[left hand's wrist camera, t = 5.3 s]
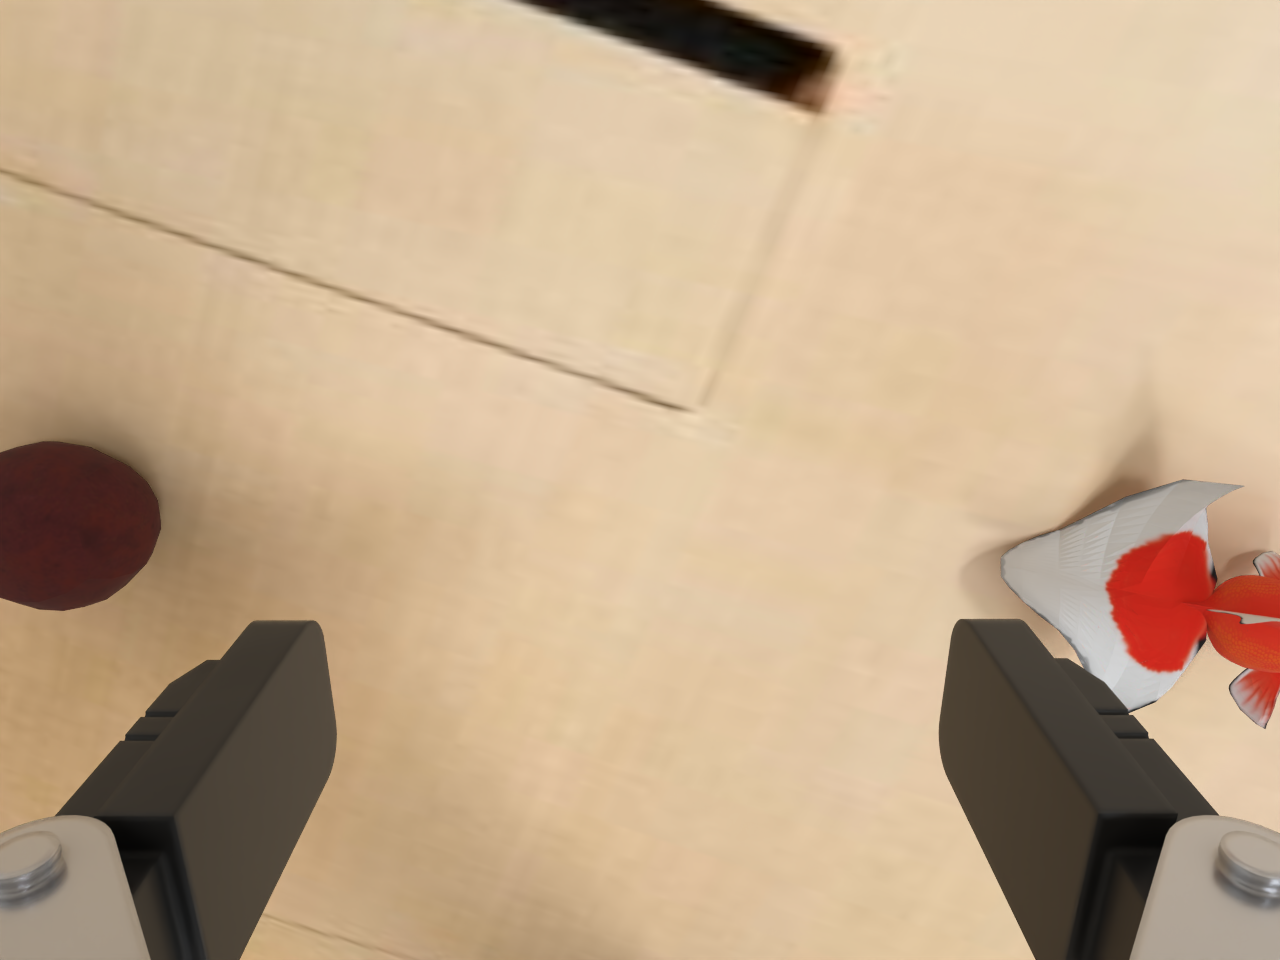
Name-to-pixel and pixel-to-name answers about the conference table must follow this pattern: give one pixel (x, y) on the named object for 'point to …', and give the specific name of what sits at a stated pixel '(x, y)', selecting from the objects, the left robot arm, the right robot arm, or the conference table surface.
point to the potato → (71, 525)
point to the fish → (1153, 596)
